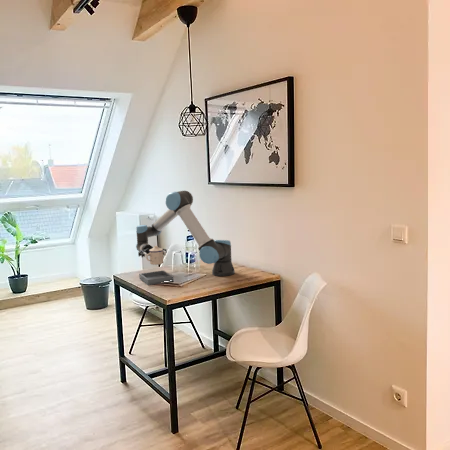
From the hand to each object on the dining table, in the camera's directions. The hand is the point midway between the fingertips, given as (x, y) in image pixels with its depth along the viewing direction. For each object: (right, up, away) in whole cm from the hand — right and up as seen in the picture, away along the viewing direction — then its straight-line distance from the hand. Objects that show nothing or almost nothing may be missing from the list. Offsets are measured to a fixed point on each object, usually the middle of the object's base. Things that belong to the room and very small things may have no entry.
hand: (156, 254), depth 306 cm
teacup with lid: (-1, -6, +4) cm, 8 cm away
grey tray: (-1, -17, +6) cm, 18 cm away
